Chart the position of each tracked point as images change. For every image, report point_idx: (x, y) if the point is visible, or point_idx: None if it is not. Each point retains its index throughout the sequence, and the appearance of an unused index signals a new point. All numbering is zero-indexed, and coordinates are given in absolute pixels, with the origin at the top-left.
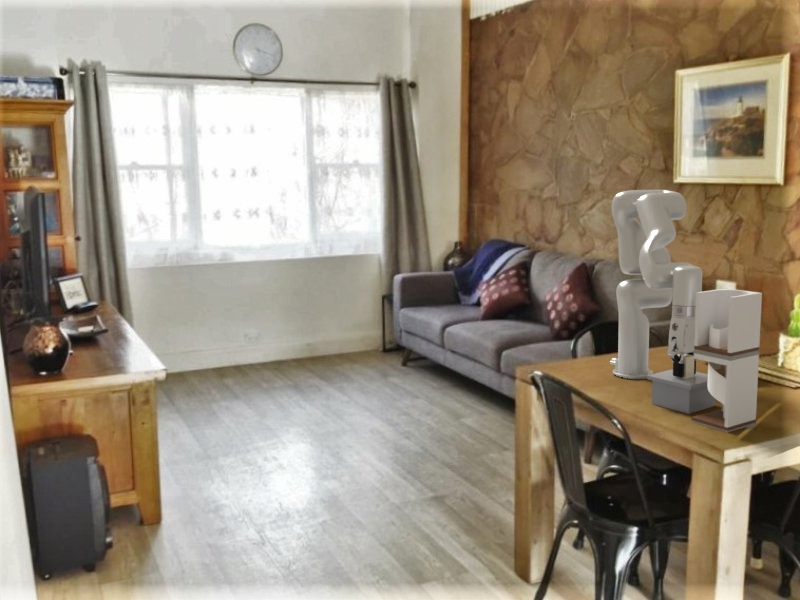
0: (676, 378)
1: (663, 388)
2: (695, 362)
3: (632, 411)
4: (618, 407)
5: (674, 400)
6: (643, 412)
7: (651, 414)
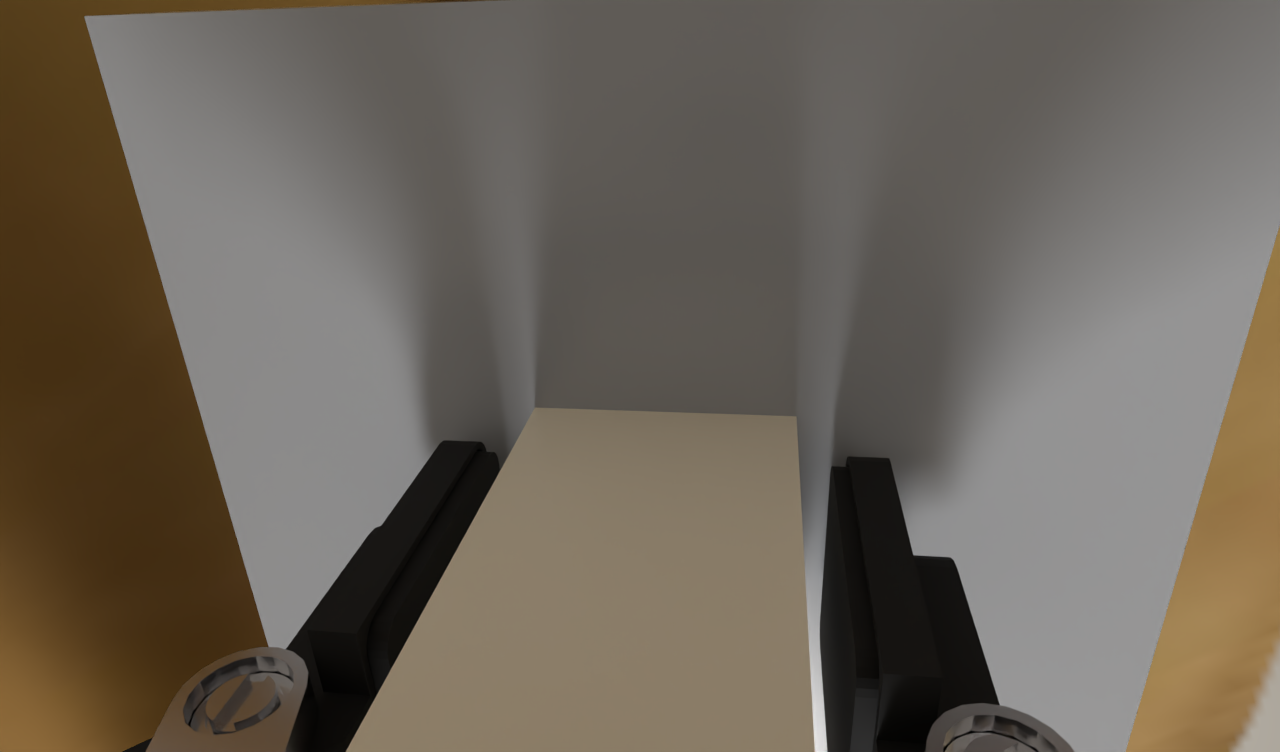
0: (919, 530)
1: None
2: (359, 598)
3: (1253, 554)
4: (1206, 698)
5: None
6: (1210, 467)
7: None
